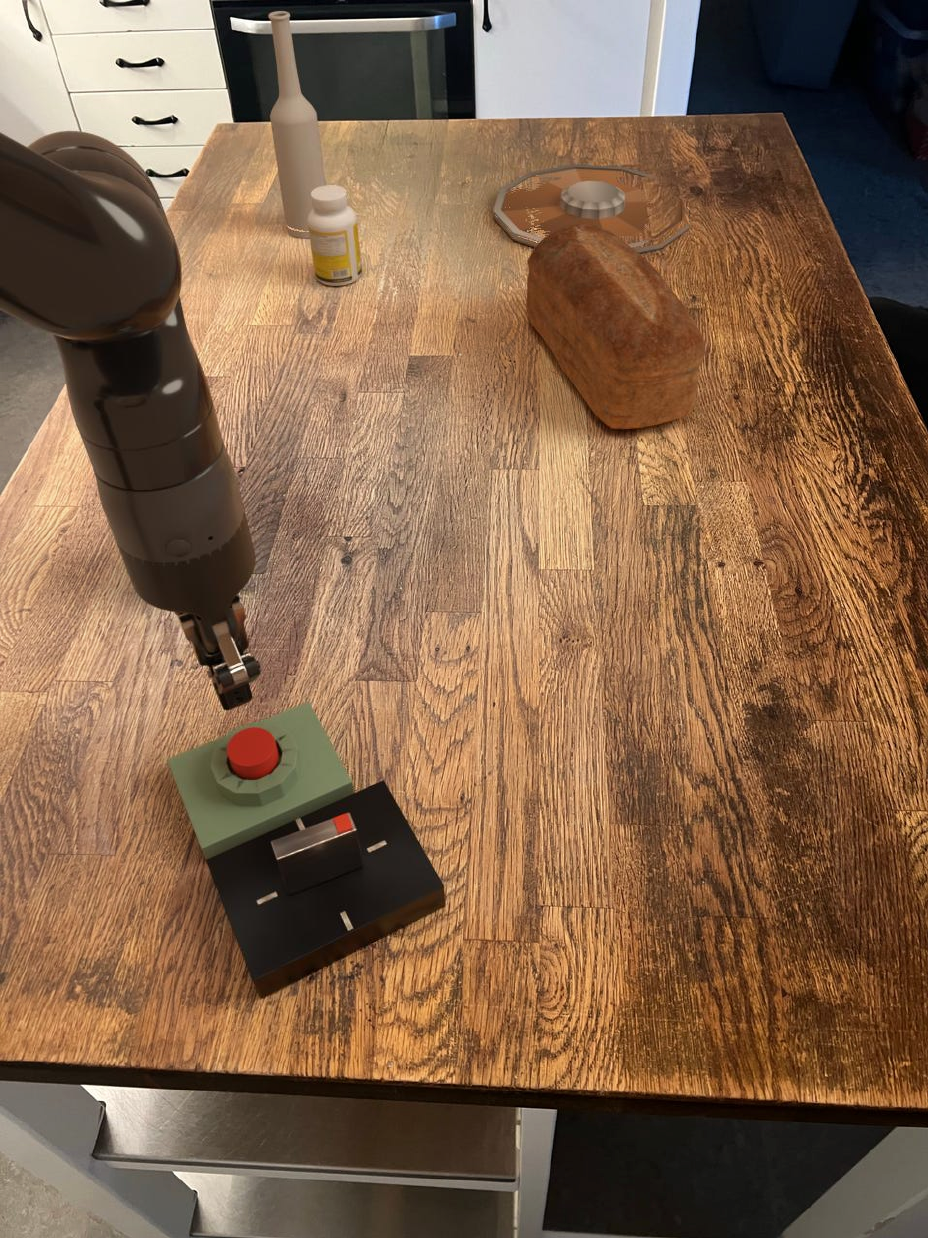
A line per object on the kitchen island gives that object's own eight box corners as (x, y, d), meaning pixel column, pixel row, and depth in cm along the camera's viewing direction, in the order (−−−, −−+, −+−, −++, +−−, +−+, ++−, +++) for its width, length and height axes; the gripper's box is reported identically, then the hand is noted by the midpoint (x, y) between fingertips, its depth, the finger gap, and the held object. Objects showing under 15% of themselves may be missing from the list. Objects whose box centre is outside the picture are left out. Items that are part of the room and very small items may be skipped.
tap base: (260, 1000, 64) (252, 980, 62) (214, 880, 70) (204, 858, 68) (445, 906, 69) (444, 885, 66) (386, 801, 75) (383, 778, 73)
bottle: (278, 228, 144) (243, 13, 123) (313, 214, 147) (285, 3, 126) (304, 242, 140) (272, 24, 120) (340, 228, 143) (315, 13, 123)
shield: (459, 215, 138) (535, 139, 156) (460, 237, 140) (535, 160, 159) (663, 253, 129) (717, 168, 148) (659, 276, 131) (714, 189, 150)
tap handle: (288, 896, 66) (276, 858, 62) (282, 878, 67) (270, 839, 63) (363, 867, 68) (356, 827, 64) (356, 849, 69) (349, 810, 65)
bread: (606, 449, 105) (618, 338, 95) (514, 312, 125) (516, 210, 115) (707, 428, 107) (729, 318, 97) (600, 297, 128) (610, 196, 118)
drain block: (207, 864, 71) (195, 836, 68) (173, 775, 77) (160, 745, 74) (355, 797, 75) (350, 768, 72) (312, 717, 81) (305, 686, 78)
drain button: (240, 787, 72) (235, 773, 70) (225, 752, 74) (220, 738, 73) (285, 767, 73) (282, 754, 72) (269, 733, 75) (265, 720, 74)
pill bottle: (349, 261, 136) (340, 177, 127) (370, 279, 132) (362, 194, 124) (307, 273, 134) (295, 189, 125) (327, 292, 130) (316, 207, 121)
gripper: (279, 560, 53) (320, 744, 65) (204, 434, 61) (253, 620, 73) (145, 609, 50) (214, 790, 63) (85, 472, 58) (157, 657, 71)
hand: (235, 698), depth 68 cm, fingers closed
